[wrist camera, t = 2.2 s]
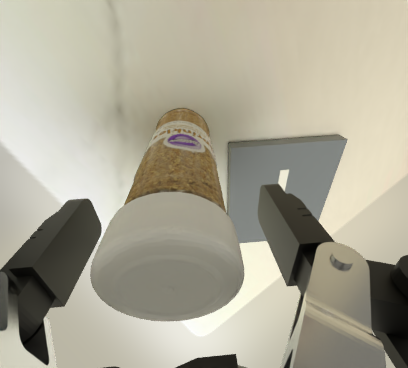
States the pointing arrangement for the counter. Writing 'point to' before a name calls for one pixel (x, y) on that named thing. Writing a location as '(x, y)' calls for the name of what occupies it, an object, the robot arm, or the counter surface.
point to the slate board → (279, 176)
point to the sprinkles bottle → (171, 232)
